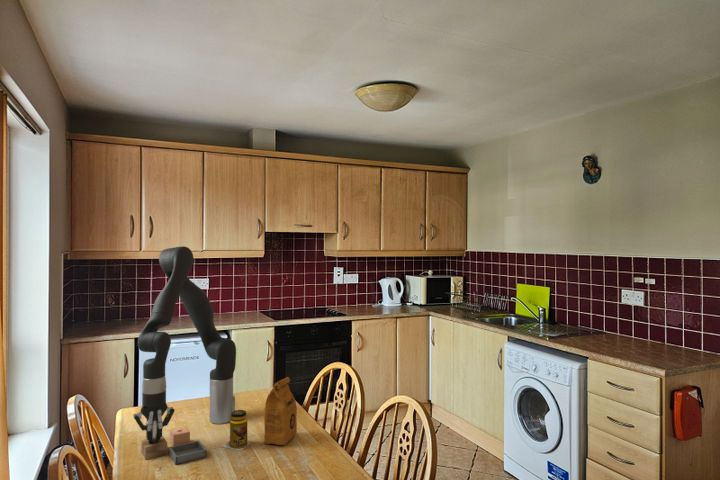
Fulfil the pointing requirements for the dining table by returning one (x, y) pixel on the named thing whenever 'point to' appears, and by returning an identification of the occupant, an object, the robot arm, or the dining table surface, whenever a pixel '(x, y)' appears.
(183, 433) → the block
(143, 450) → the go block
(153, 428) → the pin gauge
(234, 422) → the condiment
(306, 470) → the dining table surface
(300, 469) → the dining table surface
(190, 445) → the tray
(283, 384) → the coffee package
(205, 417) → the dining table surface
